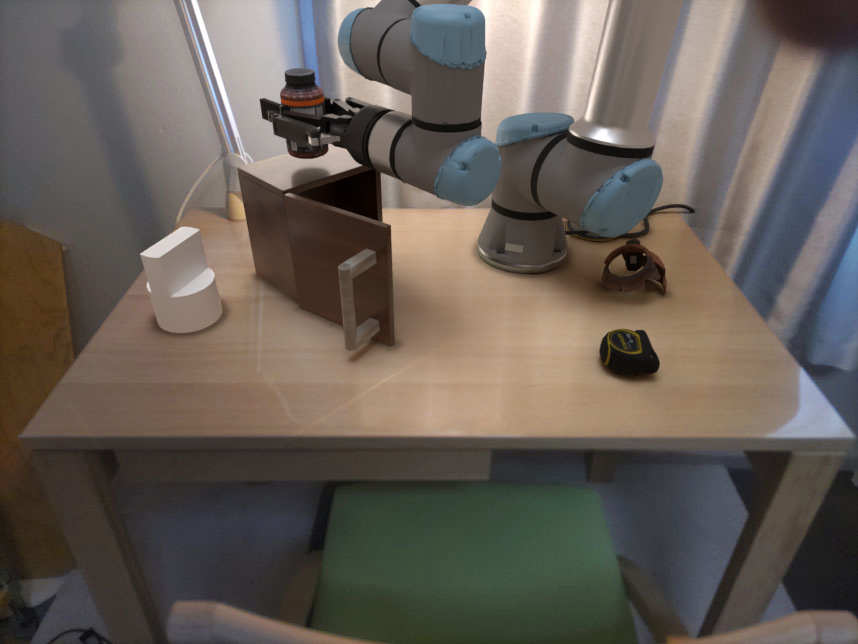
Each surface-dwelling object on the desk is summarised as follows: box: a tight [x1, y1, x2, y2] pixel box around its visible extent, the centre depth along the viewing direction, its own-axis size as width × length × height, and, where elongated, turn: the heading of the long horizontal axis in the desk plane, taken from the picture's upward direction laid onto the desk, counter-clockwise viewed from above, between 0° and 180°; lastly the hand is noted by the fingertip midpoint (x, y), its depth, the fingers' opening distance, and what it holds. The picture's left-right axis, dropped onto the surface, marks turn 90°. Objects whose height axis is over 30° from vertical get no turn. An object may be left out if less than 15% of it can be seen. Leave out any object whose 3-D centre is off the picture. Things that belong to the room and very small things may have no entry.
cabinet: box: [236, 144, 384, 305], centre depth 93 cm, size 12×17×18 cm
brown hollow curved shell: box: [601, 237, 668, 296], centre depth 94 cm, size 12×10×8 cm
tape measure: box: [598, 328, 661, 377], centre depth 78 cm, size 7×7×4 cm
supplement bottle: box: [279, 67, 329, 159], centre depth 84 cm, size 6×6×11 cm
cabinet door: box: [284, 193, 396, 352], centre depth 79 cm, size 7×17×18 cm, turn 56°
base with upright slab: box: [139, 226, 224, 334], centre depth 84 cm, size 9×9×12 cm
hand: (283, 104), depth 87 cm, fingers closed on supplement bottle, 6 cm apart
